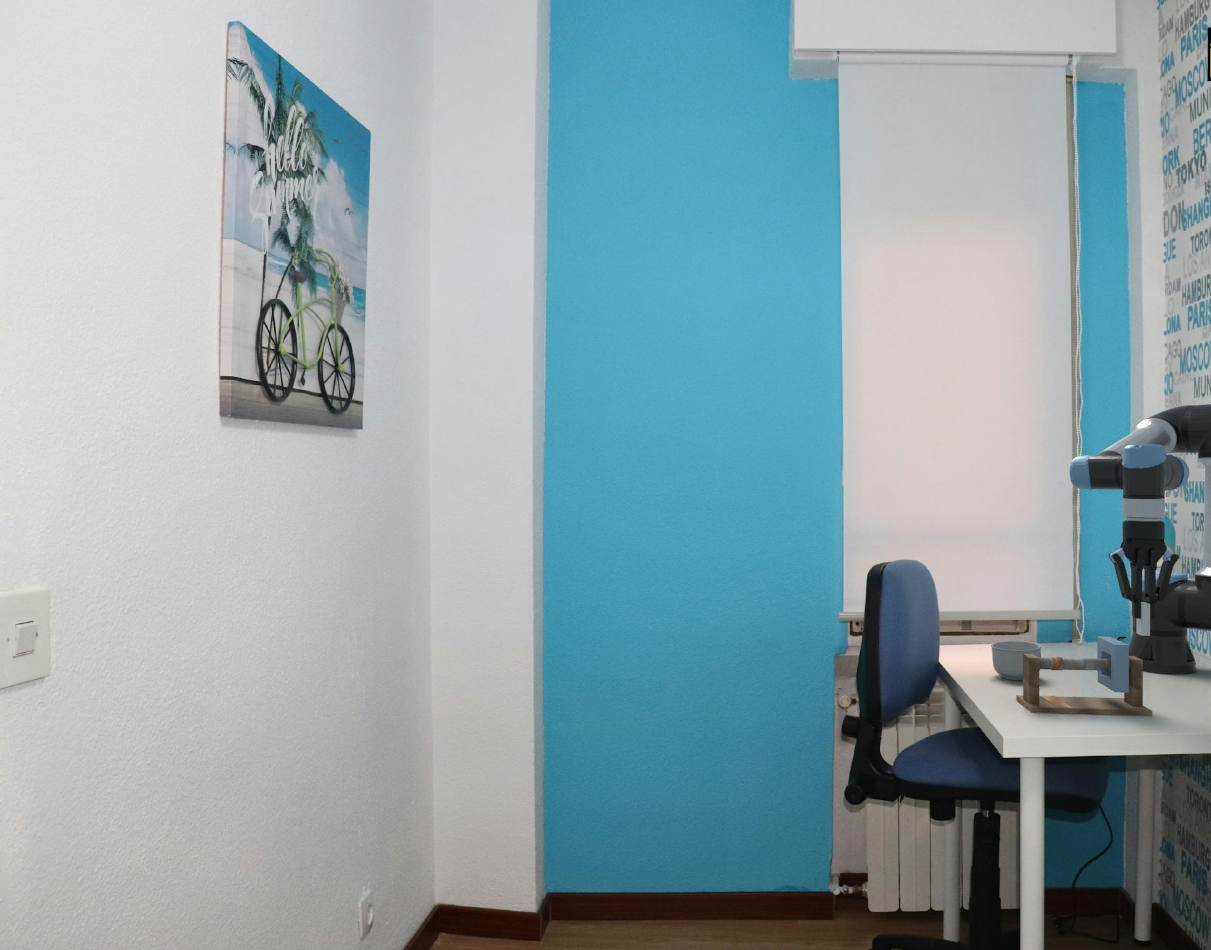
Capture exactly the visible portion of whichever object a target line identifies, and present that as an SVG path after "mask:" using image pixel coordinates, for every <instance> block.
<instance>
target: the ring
mask: <svg viewBox="0 0 1211 950" xmlns="http://www.w3.org/2000/svg"><path fill="white" fill-rule="evenodd" d="M1096 648H1097V649H1096V650H1097V652H1096V653H1097V655H1096V656H1097V659H1111V671H1097V683H1099V684H1100V685H1102V686H1104V687H1105V688H1107V689H1109V690H1110V691H1113V692H1114V693H1123V694H1124V693H1129V644H1128V643H1125V642H1122V641H1120V640H1118V639H1116V638H1114V637H1112V636H1097V647H1096Z"/></svg>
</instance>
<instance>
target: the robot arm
mask: <svg viewBox="0 0 1211 950" xmlns="http://www.w3.org/2000/svg"><path fill="white" fill-rule="evenodd" d="M1175 453H1176V454H1177V453H1179V454H1182V453H1183V454H1186V453H1188V454H1197V460H1198V462H1200V463H1201V464H1202V465H1203V466H1204V468H1205V471H1204V474H1205V475H1204V501H1203V502H1204V503H1203V504H1204V508H1203V509H1204V511H1203V516H1204V517H1203V543H1202V544H1203V547H1202V548H1203V550H1202V551H1203V555H1202V567H1201V568H1200V569H1199V570H1197V571H1196V572H1195V574H1194V580H1192V579H1191V580H1190V579H1189V577H1188V574H1187V573H1185V572H1184V573H1181V572H1178V573H1175V572H1174V573H1173V569H1174V566H1175V565H1176V563H1177V562H1178V561H1179V559H1180V555H1178V554H1177V553H1173V552H1172V551H1170V550H1169V549H1168V546H1167V544H1166V543H1165V538H1166V536H1165V535H1166V528H1165V527H1166V523H1165V522H1164V521H1163V520H1162V519H1165V517H1166V505H1165V503H1166V498H1165V495H1166V491H1168V492H1169V491H1170V492H1171V491H1173V490H1177V489H1180V488H1182V487H1183V486H1184V485H1185V484H1186V483H1187V482H1188V480H1189V478H1190V467H1189V465H1188V464H1187V462H1186V461H1185V460H1184V459H1182V458H1181V457H1180V456H1176V455H1173V454H1175ZM1069 478H1070V482H1071V485H1073V487H1074V488H1076V489H1082V490H1089V491H1091V490H1117V491H1118V490H1119V491H1121V490H1122V517H1123V518H1124V520H1123V521H1122V541H1121V544H1120V546H1119V549H1117V550H1115V551H1114V552H1109V553H1108V558H1109V559H1110V560H1111V562H1112V564H1113V567H1114V570H1115V571H1114V572H1115V574H1116V579H1117V582H1118V586H1119V590H1120V591H1119V592H1120V595H1121V597H1122V599H1125V600H1128V601H1130V602H1131V618H1132V635H1131V638H1130V641H1129V644H1128V645H1129V656H1135V657H1137V658H1139V659H1141V660H1143V672H1150V673H1160V674H1177V675H1179V674H1191V673H1195V672H1196V670H1197V668H1196V666H1197V665H1196V663H1197V662H1196V660H1195V656H1194V654H1193V651H1192V647H1191V645H1190V643H1189V639H1188V630H1189V629H1190V630H1191V629H1192V630H1197V631H1208V632H1211V404H1210V403H1209V404H1193V405H1191V404H1190V405H1189V404H1187V405H1180V406H1175V407H1172V408H1169V409H1165V410H1162V411H1161V412H1158V413H1156V414H1153V415H1151V416H1150V417H1149V416H1148V417H1147V418H1145V419H1144V420H1142V421H1141V422H1139V423H1138V424H1137V425H1136V427H1135V428H1134V431H1133V432H1130V433H1129V434H1128V435H1126V436H1124V437H1122V438H1121V439H1119V440H1117V441H1116V442H1115V443H1113V444H1111V445H1110V446H1108V447H1106V448H1104V449H1103V450H1102V451H1100V452H1099V453H1097V454H1095V455H1089V454H1086V455H1080V456H1075V457H1074V458H1072V461H1071V462H1070V466H1069ZM1124 556H1125V557H1124ZM1125 558H1126V559H1127V560H1128V562H1129V568H1130V580H1129V577H1128V576H1129V575H1128V572H1127V569H1126V565H1125V562H1124V560H1125ZM1161 558H1162V560H1163V561H1162V563H1161V565H1160V566H1161V567H1160V570H1159V573H1158V574H1157V569H1158V562H1159V561H1160V560H1161ZM1143 572H1144V573H1143Z"/></svg>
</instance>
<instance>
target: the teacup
mask: <svg viewBox="0 0 1211 950" xmlns="http://www.w3.org/2000/svg"><path fill="white" fill-rule="evenodd" d="M990 646H991V655H992V656H991V657H992V664H993V665H992V666H993V668H994V670H995V672H996V673H997V674H999V675H1000V676H1001V678H1003V679H1006V680H1010V681H1023V654H1033V655H1035V656H1037V657H1038V658H1042V646H1041V644H1039V643H1036V642H1032V641H1025V640H1005V639H1001V640H999V641H996V642H993V643H991V645H990ZM1040 672H1041V669H1039V673H1040Z"/></svg>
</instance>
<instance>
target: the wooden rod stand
mask: <svg viewBox="0 0 1211 950" xmlns="http://www.w3.org/2000/svg"><path fill="white" fill-rule="evenodd" d="M1039 669H1040V670H1050V671H1097V672H1098V671H1111V659H1098V658H1086V657H1084V658H1080V657H1078V658H1077V657H1075V658H1073V657H1061V656H1050V657H1041V658H1038V657H1037V656H1035V655H1033V654H1023V680H1022V695H1016V697H1015V700H1016V701H1017V702H1018V703H1019V704H1021V706H1023V707H1024V708H1025V709H1026V710H1028V711H1029V712H1030V713H1037V714H1038V713H1040V714H1041V713H1043V714H1044V713H1045V714H1073V715H1074V714H1075V715H1076V714H1077V715H1078V714H1079V715H1080V714H1081V715H1111V716H1112V715H1114V716H1115V715H1119V716H1149V717H1150V716H1151V717H1152V716H1153V710H1151V709H1150V708H1148V707H1146V706H1145V705H1144V671H1143V660H1141V659H1139V658H1137V657H1135V656H1129V693H1123V697H1095V696H1094V697H1091V696H1090V697H1089V696H1088V697H1087V696H1085V697H1084V696H1056V695H1040V672H1039Z"/></svg>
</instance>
